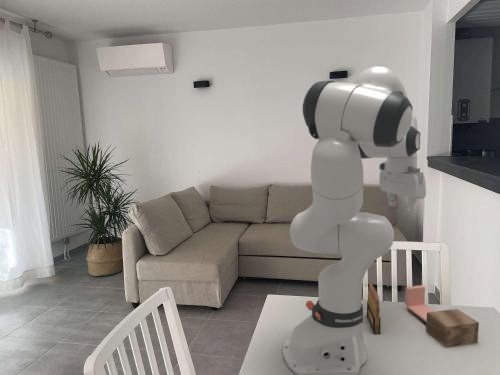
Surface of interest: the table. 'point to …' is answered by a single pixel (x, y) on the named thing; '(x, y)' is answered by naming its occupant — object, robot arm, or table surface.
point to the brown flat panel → (373, 310)
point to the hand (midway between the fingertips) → (400, 208)
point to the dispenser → (452, 327)
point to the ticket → (417, 301)
